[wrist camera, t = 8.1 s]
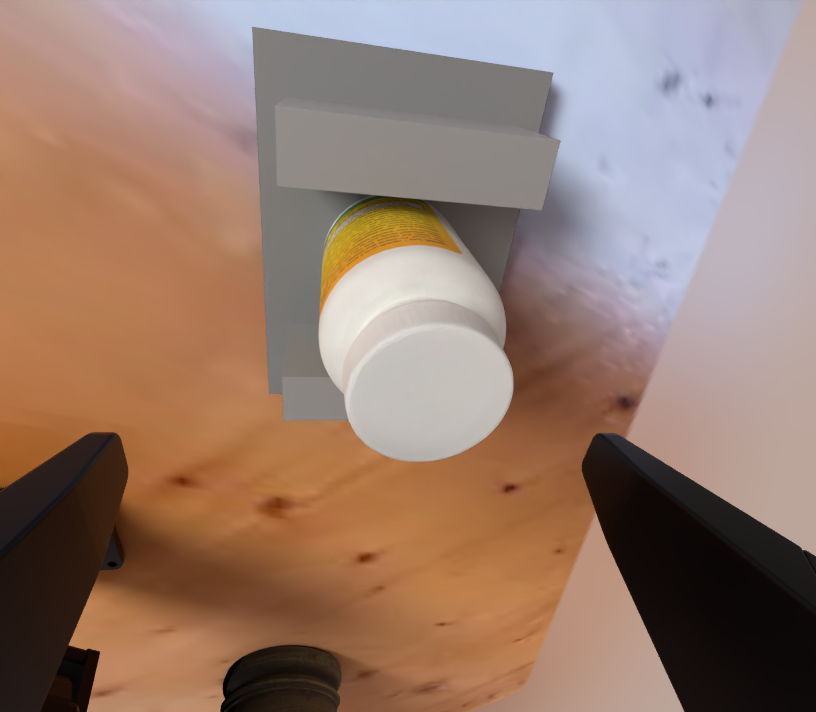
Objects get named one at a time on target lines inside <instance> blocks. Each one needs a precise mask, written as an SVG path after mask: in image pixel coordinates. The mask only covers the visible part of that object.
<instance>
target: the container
mask: <svg viewBox="0 0 816 712" xmlns="http://www.w3.org/2000/svg"><path fill="white" fill-rule="evenodd" d="M340 683H341V671H340V667H339V664H338V662H337V661H336V659H335V658H334V657H332V656H331V655H329V654H328V653H326V652H323V651H321V650H318V649H314V648H309V647H300V646H281V647H274V648H268V649H263V650H260V651H256V652H254V653H251V654H248V655H246V656H244V657H242V658H241V659H239V660H238V661H236V662H235V663H234V664H233V665H232V666H231V667H230V668H229V670H228V672H227V674H226V676H225V679H224V682H223V695H224V697H225V700H224V701H223V703H222V705H221V710H220V711H221V712H336V711H337V708H338V706H339V703H340V697H339V694H338V693H337V691H338V689H339V686H340Z"/></svg>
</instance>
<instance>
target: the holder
mask: <svg viewBox="0 0 816 712" xmlns="http://www.w3.org/2000/svg"><path fill="white" fill-rule="evenodd" d="M252 32H253V54H254V76H255V97H256V119H257V141H258V162H259V184H260V206H261V227H262V249H263V271H264V292H265V314H266V336H267V357H268V379H269V394H283V420H348V416H347V413H346V408H345V399H344V394H343V393H342V392H341V391H340V390H339V389H338V388H337V386H336V385H335V384H334V382H333V381H332V379H331V378H330V376H329V375H328V373H327V371H326V369H325V366H324V364H323V361H322V358H321V354H320V348H319V336H318V335H319V314H320V296H321V279H322V260H323V251H324V245H325V241H326V237H327V234H328V232H329V230H330V228H331V226H332V225H333V223H334V222H335V220H336V219H337V218H338V216H339V215H340V214H341V213H342V212H343V211H344V210H345V209H346V208H348V207H349V206H350V205H352V204H353V203H355V202H357V201H358V200H360V199H363V198H365V197H368V196H371V195H379V196H390V197H401V198H412V199H422V200H424V201H426V202H428V203H430V204H431V205H432V206H434V207H435V208H436V209H437V210H438V211H439V212H440V213H441V214H442V215H443V216H444V217H445V218H446V219H447V221H448V222H449V223H450V225H451V226H452V228H453V229H454V230H455V232H456V233H457V235H458V236H459V238H460V239H461V241H462V242H463V243H464V245H465V246H466V247H467V249H468V250H469V251H470V253H471V254H472V255H473V257H474V258H475V259H476V261H477V262H478V263H479V265H480V266H481V267H482V269H483V270H484V271H485V273H486V274H487V276H488V277H489V278H490V280H491V281H492V283H493V284H494V286H495V288H496V290H497V292H498V293H500V289H501V285H502V281H503V277H504V272H505V268H506V264H507V260H508V256H509V252H510V248H511V244H512V240H513V236H514V232H515V227H516V223H517V219H518V215H519V211H520V208H522V209H533V210H542V208H543V204H544V200H545V197H546V193H547V189H548V185H549V182H550V178H551V174H552V171H553V167H554V163H555V159H556V156H557V152H558V148H559V145H560V140H557V139H554V138H551V137H548V136H545V135H542V134H539V129H540V125H541V121H542V117H543V113H544V109H545V105H546V101H547V97H548V92H549V88H550V84H551V80H552V76H553V73H552V72H545V71H539V70H532V69H525V68H519V67H512V66H506V65H499V64H493V63H486V62H479V61H473V60H466V59H460V58H453V57H447V56H440V55H433V54H427V53H420V52H414V51H407V50H401V49H394V48H388V47H381V46H374V45H368V44H361V43H355V42H348V41H342V40H335V39H328V38H322V37H315V36H309V35H302V34H296V33H289V32H282V31H276V30H269V29H263V28H256V27H252Z"/></svg>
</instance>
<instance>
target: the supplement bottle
mask: <svg viewBox="0 0 816 712" xmlns="http://www.w3.org/2000/svg"><path fill="white" fill-rule="evenodd" d="M318 336H319V348H320V354H321V358H322V361H323V364H324V366H325V369H326V371H327V373H328V375H329V376H330V378H331V379H332V381H333V382H334V384H335V385H336V386H337V388H338V389H339V390H340V391H341V392H342V393H343V394H344V399H345V408H346V413H347V416H348V420H349V422H350V424H351V426H352V428H353V430H354V432H355V433H356V434H357V436H358V437H359V438H360V439H361V440H362V441H363V442H364V443H365V444H366V445H367V446H368V447H370V448H371V449H373V450H375V451H376V452H378V453H380V454H382V455H384V456H387V457H390V458H393V459H397V460H401V461H410V462H425V461H436V460H441V459H445V458H448V457H451V456H454V455H457V454H460V453H462V452H463V451H466V450H468V449H470V448H471V447H473V446H474V445H476V444H478V443H479V442H481V441H482V440H483V439H485V438H486V437H487V436H488V435H489V434H490V433H491V432H492V431H493V430H494V429H495V428H496V427H497V426H498V424H499V423H500V422H501V420H502V419H503V418H504V416H505V414H506V412H507V410H508V407H509V405H510V402H511V400H512V395H513V388H514V381H513V372H512V367H511V364H510V362H509V360H508V357H507V355H506V354H505V352H504V350H503V348H504V344H505V338H506V317H505V311H504V307H503V303H502V301H501V298H500V296H499V293H498V292H497V290H496V288H495V286H494V284H493V283H492V281H491V280H490V278H489V277H488V276H487V274H486V273H485V271H484V270H483V269H482V267H481V266H480V265H479V263H478V262H477V261H476V259H475V258H474V257H473V255H472V254H471V253H470V251H469V250H468V249H467V247H466V246H465V245H464V243H463V242H462V241H461V239H460V238H459V236H458V235H457V233H456V232H455V230H454V229H453V228H452V226H451V225H450V223H449V222H448V221H447V219H446V218H445V217H444V216H443V215H442V214H441V213H440V212H439V211H438V210H437V209H436V208H435V207H434V206H432V205H431V204H430V203H428V202H426V201H424V200H422V199H412V198H401V197H390V196H379V195H371V196H368V197H365V198H363V199H360V200H358V201H357V202H355V203H353V204H352V205H350V206H349V207H348V208H346V209H345V210H344V211H343V212H342V213H341V214H340V215H339V216H338V218H337V219H336V220H335V222H334V223H333V225H332V226H331V228H330V230H329V232H328V234H327V237H326V241H325V245H324V251H323V260H322V279H321V296H320V314H319V335H318Z"/></svg>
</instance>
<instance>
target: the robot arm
mask: <svg viewBox="0 0 816 712" xmlns="http://www.w3.org/2000/svg"><path fill="white" fill-rule="evenodd" d="M582 473H583V476H584V479H585V482H586V485H587V488H588V491H589V493H590V496H591V499H592V502H593V505H594V508H595V511H596V514H597V517H598V520H599V522H600V525H601V528H602V531H603V533H604V536H605V539H606V541H607V544H608V546H609V548H610V551H611V553H612V555H613V557H614V559H615V562H616V564H617V566H618V568H619V570H620V573H621V574H622V577H623V579H624V581H625V583H626V586H627V588H628V590H629V592H630V594H631V596H632V598H633V601H634V603H635V605H636V607H637V610H638V612H639V614H640V616H641V618H642V620H643V622H644V625H645V627H646V629H647V631H648V633H649V636H650V638H651V640H652V642H653V644H654V647H655V648H656V651H657V653H658V655H659V657H660V659H661V662H662V664H663V666H664V668H665V670H666V673H667V675H668V677H669V679H670V681H671V683H672V686H673V688H674V690H675V692H676V694H677V697H678V699H679V701H680V703H681V705H682V707H683V709H684V712H816V556H814V555H813V554H811V553H810V552H808V551H806V550H802V548H801V547H800V546H798V545H796V544H795V543H793V542H792V541H790V540H788V539H787V538H785V537H783V536H782V535H780V534H779V533H777V532H775V531H774V530H772V529H770V528H768V527H767V526H766V525H764V524H762V523H761V522H759V521H757V520H756V519H754V518H753V517H751V516H749V515H748V514H746V513H744V512H743V511H741V510H739V509H738V508H736V507H735V506H733V505H731V504H730V503H728V502H727V501H725V500H723V499H722V498H720V497H718V496H717V495H715V494H714V493H712V492H710V491H709V490H707V489H706V488H704V487H702V486H701V485H699V484H697V483H696V482H694V481H693V480H691V479H689V478H688V477H686V476H684V475H683V474H681V473H680V472H678V471H676V470H675V469H673V468H672V467H670V466H668V465H666V464H665V463H663V462H662V461H660V460H659V459H657V458H655V457H654V456H652V455H650V454H649V453H647V452H646V451H644V450H642V449H641V448H639V447H637V446H635V445H634V444H633V443H631V442H629V441H628V440H626V439H625V438H623V437H621V436H620V435H618V434H615V433H599V434H596V435H595V436H594V437H593V439H592V441H591V443H590V446H589V448H588V450H587V452H586V455H585V457H584V459H583V462H582ZM127 480H128V465H127V461H126V457H125V453H124V449H123V445H122V441H121V438H120V436H119V435H118V434H117V433H114V432H94V433H89V434H87V435H85V436H84V437H82V438H81V439H79V440H78V441H76V442H75V443H73V444H72V445H70V446H68V447H67V448H65V449H64V450H62V451H61V452H59V453H58V454H56V455H55V456H53V457H52V458H50V459H49V460H47V461H46V462H44V463H43V464H41V465H39V466H38V467H36V468H35V469H33V470H32V471H30V472H29V473H27V474H26V475H24V476H23V477H21V478H20V479H18V480H17V481H15V482H13V483H12V484H10V485H9V486H7V487H6V488H4V489H0V712H87V708H88V704H89V699H90V695H91V690H92V686H93V681H94V677H95V673H96V668H97V664H98V659H99V655H100V652H99V651H96V650H92V649H87V650H84V649H80V648H76V647H73V646H69V642H70V640H71V638H72V635H73V633H74V631H75V628H76V626H77V624H78V621H79V619H80V617H81V614H82V612H83V609H84V607H85V605H86V602H87V600H88V598H89V595H90V593H91V591H92V588H93V586H94V584H95V581H96V579H97V576H98V574H99V571H100V570H114V569H119V568H120V567H121V566H122V564H123V562H124V555H123V552H122V548H121V545H120V542H119V539H118V536H117V533H116V530H115V527H114V524H115V521H116V517H117V514H118V510H119V507H120V504H121V500H122V497H123V493H124V490H125V487H126V483H127Z"/></svg>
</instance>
